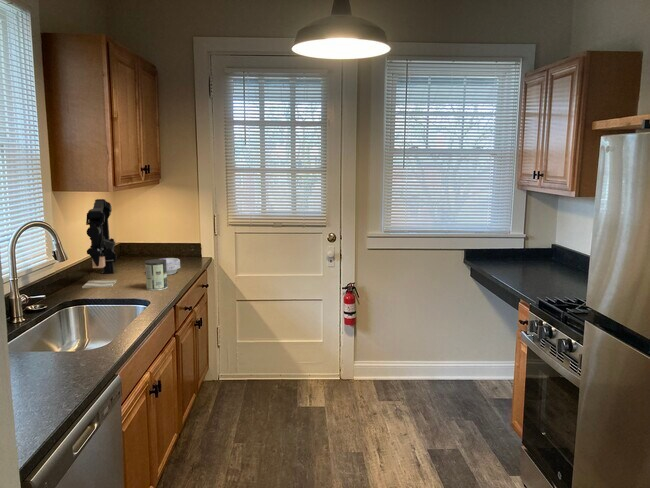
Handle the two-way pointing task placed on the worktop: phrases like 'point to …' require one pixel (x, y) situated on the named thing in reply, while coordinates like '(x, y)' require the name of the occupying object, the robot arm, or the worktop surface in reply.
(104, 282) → the striped cloth
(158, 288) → the coffee can
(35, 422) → the worktop surface
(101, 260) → the terracotta cube
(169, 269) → the paper bowls
